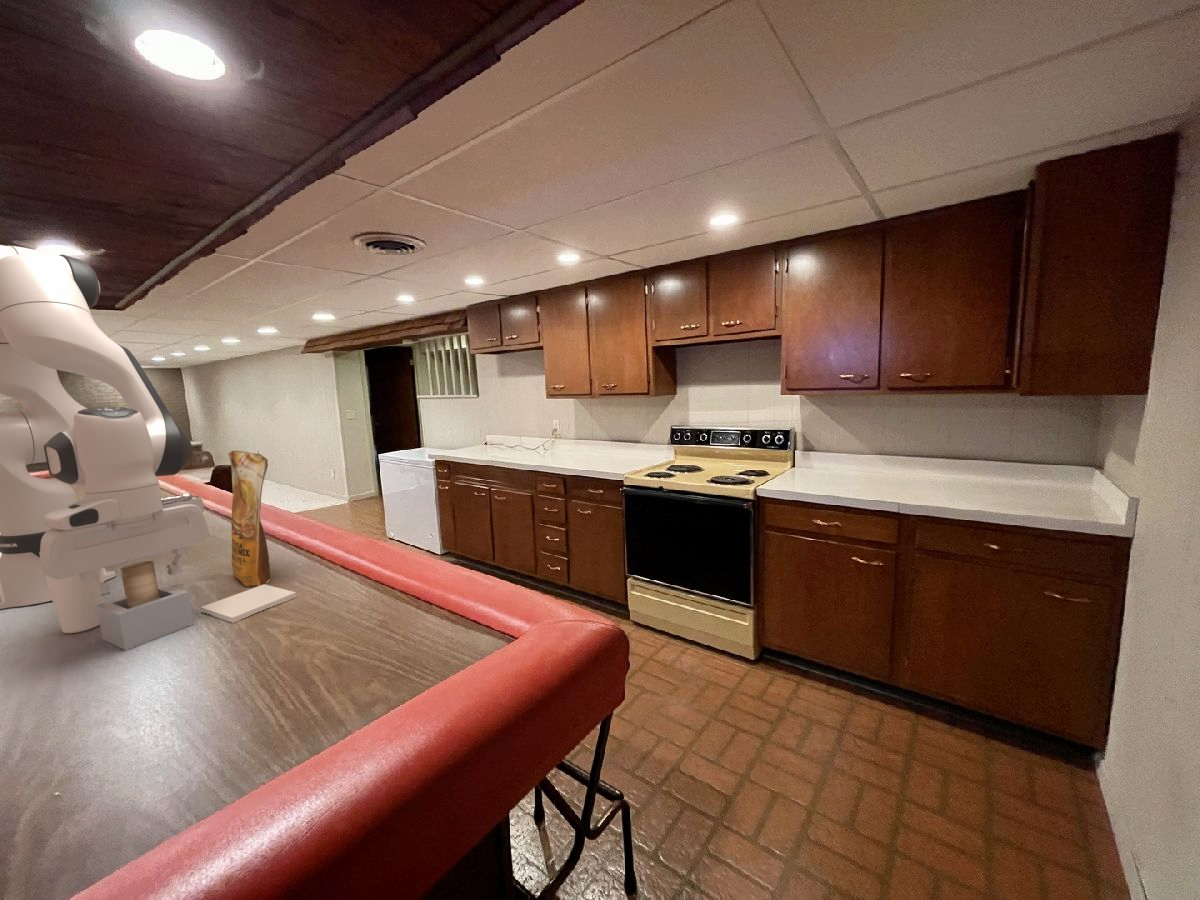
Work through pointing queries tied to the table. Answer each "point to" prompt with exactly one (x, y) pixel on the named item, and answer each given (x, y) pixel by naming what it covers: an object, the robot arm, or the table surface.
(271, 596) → the square mat
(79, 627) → the drinking glass
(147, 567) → the birch pin
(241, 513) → the pancake mix bag
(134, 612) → the grey square frame
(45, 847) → the table surface
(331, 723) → the table surface
